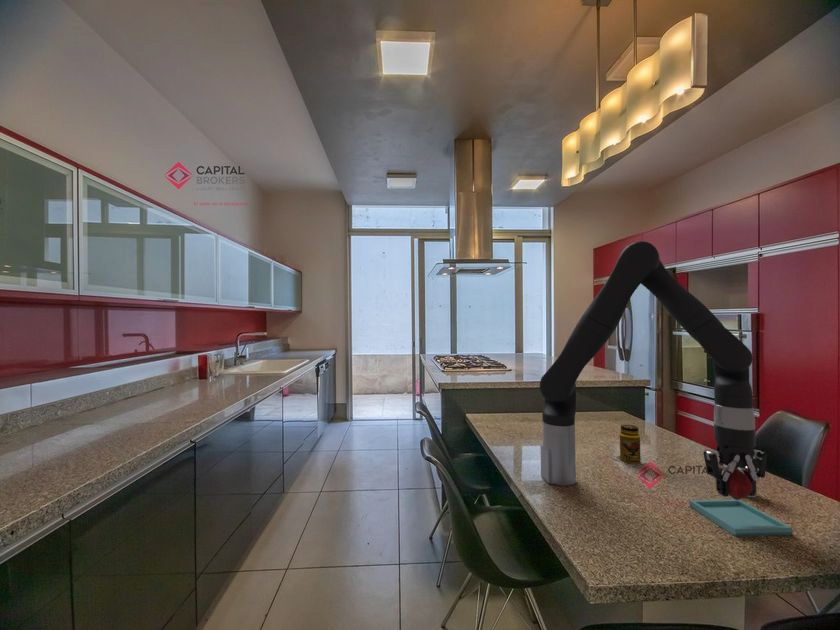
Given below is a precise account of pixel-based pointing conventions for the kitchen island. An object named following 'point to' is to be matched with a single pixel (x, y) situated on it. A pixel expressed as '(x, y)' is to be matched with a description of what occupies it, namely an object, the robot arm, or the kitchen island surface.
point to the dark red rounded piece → (739, 485)
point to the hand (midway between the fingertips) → (736, 494)
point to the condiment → (629, 446)
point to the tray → (740, 518)
